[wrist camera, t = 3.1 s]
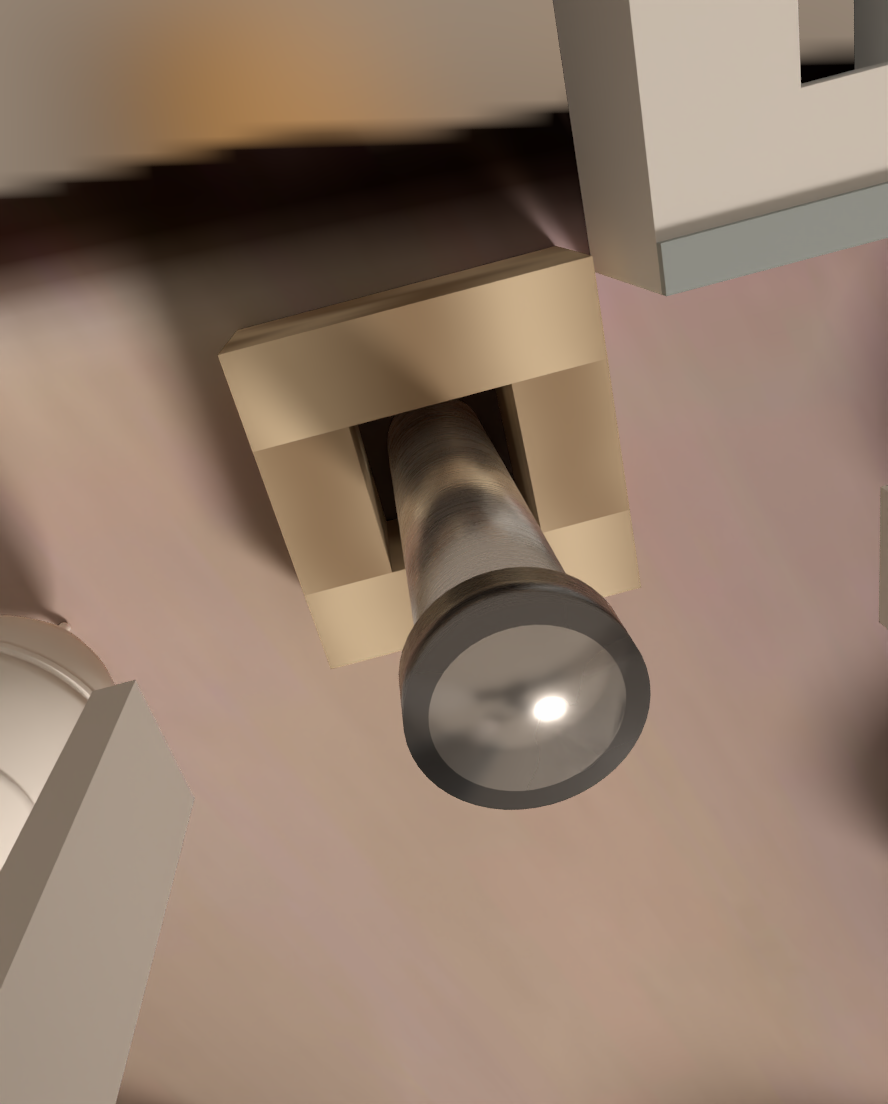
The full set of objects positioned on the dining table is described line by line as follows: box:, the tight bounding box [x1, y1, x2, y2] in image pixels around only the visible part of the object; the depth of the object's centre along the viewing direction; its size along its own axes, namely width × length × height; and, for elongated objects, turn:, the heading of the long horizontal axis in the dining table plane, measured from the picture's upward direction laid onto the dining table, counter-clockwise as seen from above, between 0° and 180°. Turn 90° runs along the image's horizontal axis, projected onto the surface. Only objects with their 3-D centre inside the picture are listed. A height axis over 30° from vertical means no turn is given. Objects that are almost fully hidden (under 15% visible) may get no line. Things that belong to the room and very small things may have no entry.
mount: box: [218, 246, 641, 669], centre depth 24 cm, size 10×10×4 cm
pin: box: [387, 398, 650, 810], centre depth 19 cm, size 4×4×15 cm
